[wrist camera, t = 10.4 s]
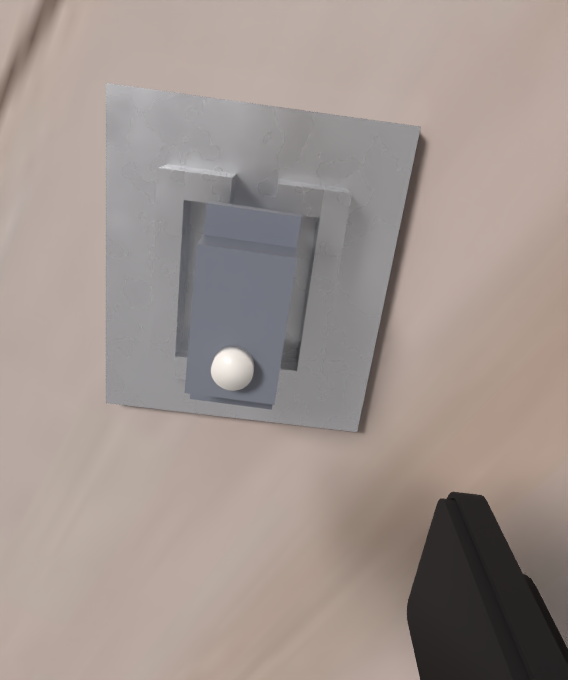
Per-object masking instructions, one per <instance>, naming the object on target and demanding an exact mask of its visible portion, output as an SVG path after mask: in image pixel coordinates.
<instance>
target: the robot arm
mask: <svg viewBox="0 0 568 680" xmlns="http://www.w3.org/2000/svg"><path fill="white" fill-rule="evenodd" d="M407 620H408V625H409V630H410V635H411V639H412V644H413V648H414V653H415V657H416V662H417V667H418V671H419V676H420V680H568V649H567V647H566V645H565V643H564V641H563V639H562V637H561V635H560V633H559V631H558V629H557V627H556V625H555V623H554V621H553V619H552V617H551V615H550V613H549V611H548V609H547V607H546V605H545V603H544V601H543V599H542V597H541V595H540V593H539V591H538V589H537V587H536V586H535V584H534V583H533V581H532V580H531V578H529V577H528V576H527V575H525V574H523V573H522V571H521V569H520V567H519V565H518V563H517V561H516V559H515V557H514V555H513V553H512V551H511V549H510V547H509V545H508V543H507V541H506V539H505V537H504V535H503V533H502V531H501V529H500V527H499V525H498V523H497V521H496V519H495V517H494V515H493V513H492V511H491V509H490V506H489V504H488V502H487V500H486V499H485V498H484V496H482V495H476V494H467V493H459V492H451V493H450V494H449V495H448V497H447V499H440V500H439V501H438V503H437V506H436V509H435V512H434V516H433V519H432V522H431V526H430V529H429V533H428V536H427V539H426V543H425V546H424V549H423V553H422V556H421V559H420V563H419V566H418V569H417V573H416V576H415V579H414V583H413V586H412V589H411V593H410V596H409V599H408V604H407Z"/></svg>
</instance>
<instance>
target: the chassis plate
mask: <svg viewBox="0 0 568 680" xmlns="http://www.w3.org/2000/svg"><path fill="white" fill-rule="evenodd" d="M420 128H421V127H419V126H412V125H405V124H398V123H391V122H383V121H376V120H369V119H362V118H354V117H347V116H340V115H333V114H326V113H318V112H311V111H304V110H297V109H289V108H282V107H275V106H268V105H261V104H253V103H246V102H239V101H232V100H225V99H217V98H210V97H203V96H196V95H188V94H181V93H174V92H167V91H160V90H152V89H145V88H138V87H131V86H123V85H116V84H109V83H106V403H110V404H119V405H127V406H136V407H145V408H153V409H162V410H170V411H179V412H188V413H196V414H205V415H214V416H222V417H231V418H239V419H248V420H257V421H265V422H274V423H282V424H291V425H300V426H308V427H317V428H326V429H334V430H343V431H351V432H357V430H358V426H359V421H360V416H361V411H362V406H363V402H364V397H365V392H366V387H367V382H368V378H369V373H370V368H371V363H372V358H373V354H374V349H375V344H376V339H377V334H378V330H379V325H380V320H381V315H382V310H383V306H384V301H385V296H386V291H387V286H388V282H389V277H390V272H391V267H392V262H393V258H394V253H395V248H396V243H397V238H398V234H399V229H400V224H401V219H402V214H403V210H404V205H405V200H406V195H407V190H408V186H409V181H410V176H411V171H412V166H413V162H414V157H415V152H416V147H417V142H418V138H419V133H420ZM208 201H213V202H220V203H227V204H233V205H240V206H247V207H254V208H261V209H267V210H274V211H281V212H288V213H295V214H301V223H300V229H299V236H298V242H297V263H296V269H295V276H294V282H293V289H292V295H291V301H290V308H289V314H288V321H287V327H286V334H285V340H284V347H283V353H282V360H281V366H280V372H279V379H278V385H277V392H276V398H275V405H272V410H270V409H263V408H255V407H247V406H240V405H232V404H225V403H217V402H209V401H202V400H194V399H190V394H188V393H185V380H186V368H187V356H188V343H189V331H190V319H191V307H192V294H193V282H194V270H195V258H196V245H197V243H198V242H199V240H200V239H201V238H202V236H203V235H204V227H205V215H206V204H207V202H208Z"/></svg>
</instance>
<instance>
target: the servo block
mask: <svg viewBox="0 0 568 680" xmlns="http://www.w3.org/2000/svg"><path fill="white" fill-rule="evenodd" d="M300 223H301V214H295V213H288V212H281V211H274V210H267V209H261V208H254V207H247V206H240V205H233V204H227V203H220V202H213V201H208V202H207V204H206V215H205V227H204V235H203V236H202V238H201V239H200V240H199V242H198V243H197V245H196V258H195V270H194V282H193V294H192V307H191V319H190V331H189V343H188V356H187V368H186V380H185V393H188V394H190V399H194V400H202V401H209V402H217V403H225V404H232V405H240V406H247V407H255V408H263V409H270V410H272V405H275V398H276V392H277V385H278V379H279V372H280V366H281V360H282V353H283V347H284V340H285V334H286V327H287V321H288V314H289V308H290V301H291V295H292V289H293V282H294V276H295V269H296V263H297V242H298V236H299V229H300Z"/></svg>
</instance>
